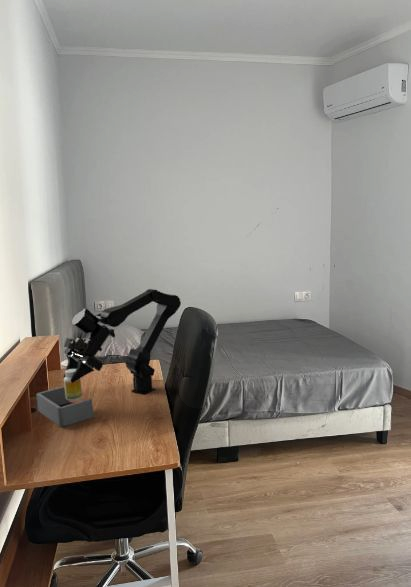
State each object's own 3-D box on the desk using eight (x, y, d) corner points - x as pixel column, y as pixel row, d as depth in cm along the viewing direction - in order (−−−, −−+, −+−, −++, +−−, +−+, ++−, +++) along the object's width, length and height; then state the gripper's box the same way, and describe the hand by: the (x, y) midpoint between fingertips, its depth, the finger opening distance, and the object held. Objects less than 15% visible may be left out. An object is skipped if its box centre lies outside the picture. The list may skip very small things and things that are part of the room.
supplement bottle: (63, 398, 164) (59, 370, 162) (78, 394, 167) (75, 367, 166) (69, 402, 160) (66, 374, 158) (85, 397, 163) (82, 370, 161)
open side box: (68, 401, 173) (66, 385, 172) (93, 417, 157) (91, 399, 156) (37, 410, 166) (35, 393, 165) (60, 427, 150) (58, 408, 150)
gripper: (66, 324, 169) (38, 362, 164) (90, 331, 155) (60, 373, 150) (89, 341, 175) (63, 378, 170) (114, 350, 161) (87, 391, 156)
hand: (68, 380), depth 161 cm, fingers closed on supplement bottle, 5 cm apart
